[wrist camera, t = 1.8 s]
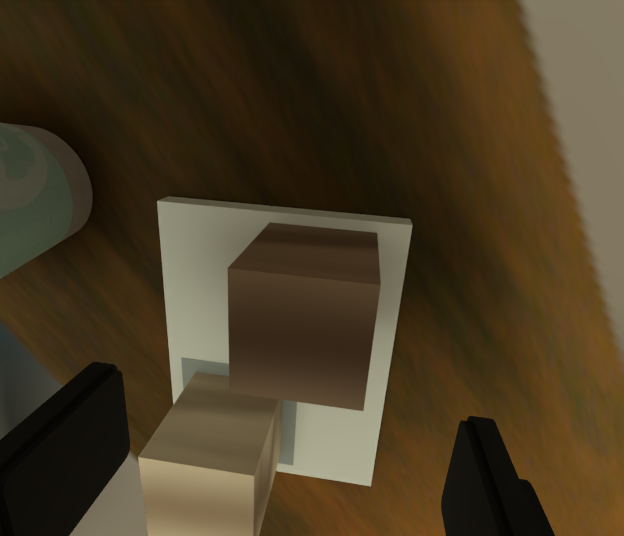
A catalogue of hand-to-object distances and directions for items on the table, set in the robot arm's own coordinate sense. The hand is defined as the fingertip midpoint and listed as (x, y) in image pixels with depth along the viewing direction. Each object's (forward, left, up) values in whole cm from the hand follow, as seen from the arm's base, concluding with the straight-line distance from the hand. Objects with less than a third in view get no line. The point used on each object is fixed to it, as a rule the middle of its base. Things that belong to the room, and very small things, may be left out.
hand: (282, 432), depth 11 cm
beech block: (+8, -4, -9) cm, 13 cm away
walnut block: (-1, 0, -9) cm, 9 cm away
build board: (+4, -2, -11) cm, 12 cm away
